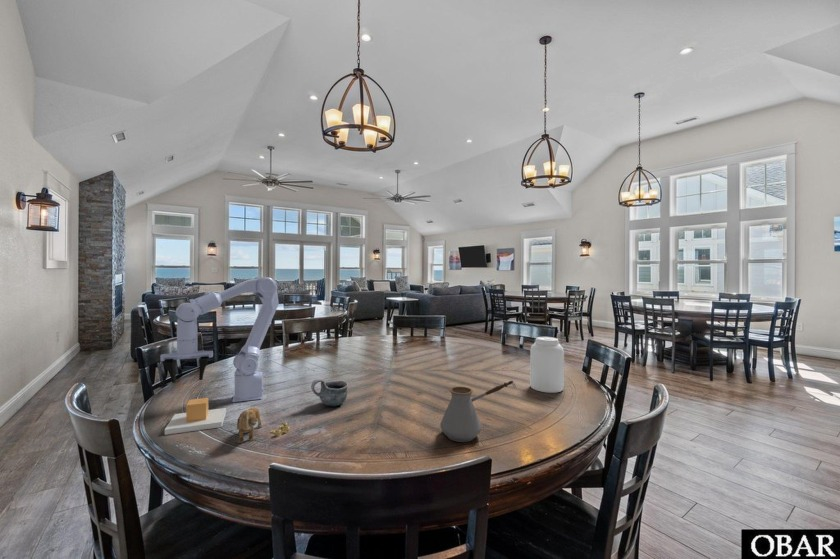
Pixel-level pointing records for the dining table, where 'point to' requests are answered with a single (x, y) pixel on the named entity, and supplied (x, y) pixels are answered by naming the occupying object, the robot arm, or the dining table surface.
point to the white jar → (547, 365)
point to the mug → (331, 391)
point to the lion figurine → (248, 423)
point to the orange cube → (197, 410)
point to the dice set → (281, 428)
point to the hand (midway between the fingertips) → (187, 380)
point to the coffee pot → (464, 414)
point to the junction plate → (196, 422)
